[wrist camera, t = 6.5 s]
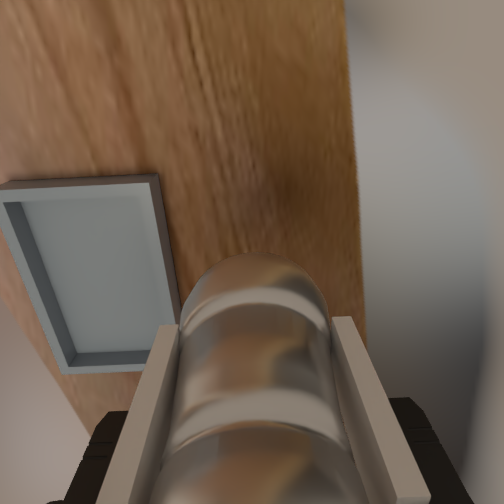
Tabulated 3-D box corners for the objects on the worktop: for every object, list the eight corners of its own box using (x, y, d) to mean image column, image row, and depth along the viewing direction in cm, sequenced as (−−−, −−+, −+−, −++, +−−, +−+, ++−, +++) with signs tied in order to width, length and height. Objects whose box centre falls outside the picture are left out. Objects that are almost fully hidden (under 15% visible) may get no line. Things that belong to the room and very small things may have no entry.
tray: (188, 348, 38) (184, 369, 36) (74, 354, 38) (61, 374, 36) (157, 173, 29) (148, 182, 27) (9, 180, 29) (-15, 191, 27)
